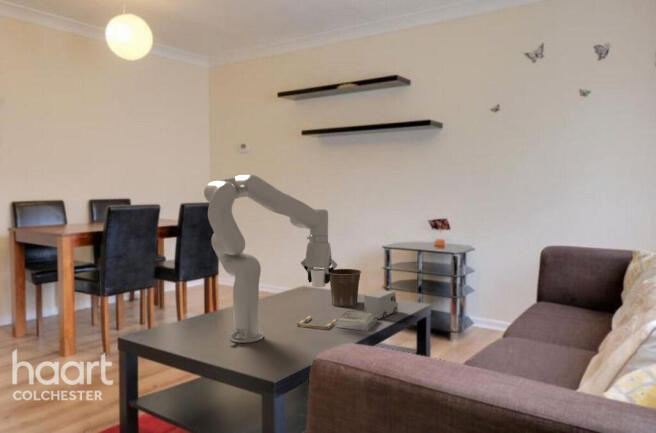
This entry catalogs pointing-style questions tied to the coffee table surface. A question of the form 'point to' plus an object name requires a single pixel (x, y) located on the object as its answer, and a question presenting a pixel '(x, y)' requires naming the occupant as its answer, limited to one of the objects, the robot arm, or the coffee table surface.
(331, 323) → the cradle
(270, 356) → the coffee table surface
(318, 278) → the white cup
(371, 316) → the plate
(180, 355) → the coffee table surface
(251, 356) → the coffee table surface
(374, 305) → the toy vehicle
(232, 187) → the robot arm
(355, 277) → the plant pot
